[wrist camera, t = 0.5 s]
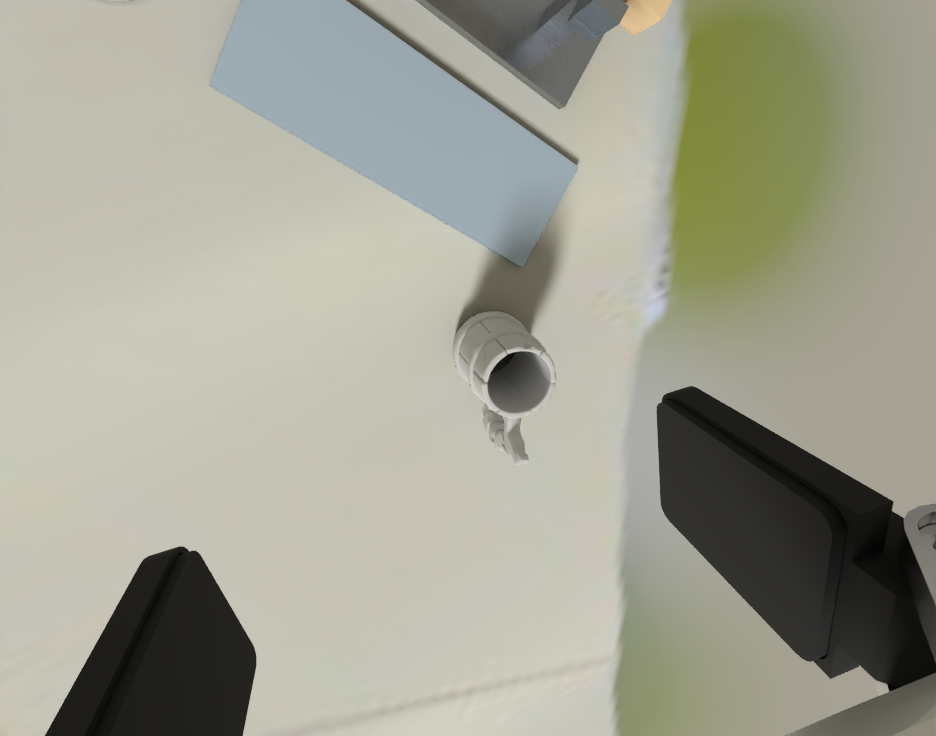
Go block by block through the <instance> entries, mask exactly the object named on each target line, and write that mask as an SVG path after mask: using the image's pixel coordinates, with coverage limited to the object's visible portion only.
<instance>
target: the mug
mask: <svg viewBox="0 0 936 736" xmlns="http://www.w3.org/2000/svg"><path fill="white" fill-rule="evenodd" d="M513 352H515V353H514V356H513V358H512V359H511V361H510V362H509V363H508V364H507V365H506V366H505V367H504V368H502V369H500V370H499V371H497V372H494V373H491V371H492V370H493V368H494V366H495V365H496V364H497V363H498V362H499V361H500V360H501V359H502V358H504V357H505V356H506V355H507V354H510V353H513ZM453 360H454V364H455V368H456V370H457V371H458V372H459V373H460V375H461V376H462V377H463V378H464V379H465V380H466V381H467V382H468V383H469V386H470V389H471V390H472V391H473V392H474V393H475V394H476V395H477V396H478V397H479V398H480V399H481V400H482V401H483V402H485V405H484V406H483V416H484V418H483V423H484V426H485V430H486V431H487V433H488V434H489V438H490V441H491V443H492V444H493V446H495V447H498V448H499V449H501V450H503V451H505V452H506V453H507V454H508V455H510V456H511V457H512V458H513V460H514V462H515V464H517V465H519V464H526V463H528V462H529V460H528V455H527V454H526V453H525V448H524V445H525V444H524V441H523V439H522V436H521V433H520V423H521V417H524V416H527V415H530V414H531V413H532V412H533V413H534V412H536V411H537V410H538V409H540V408H541V407H542V406H543V405H544V404H545V403H546V402H547V401H548V400H549V398H550V397H551V395H552V393H553V391H554V388H555V385H556V384H555V382H556V373H555V368H554V364H553V361H552V360H551V358H550V356H549V355H548V354H547V353H546V350H545V348H544V347H543V346H542V345H541V343H540V342H539V341H538V340H537V339H536V338H535V337H533V336H532V335H531V334H529V333H528V332H527V330H526V329H525V327H524V326H523V325H522V324H521V322H520V321H518V320H517V319H516V318H515V317H513V316H511V315H509V314H507V313H503V312H499V311H488V312H482V313H478V314H476V315H475V317H474V316H472V317H470V318H469V319H468V320H467V321H466V322H465V323H464V324H463V325H462V326H461V327H460V328H459V330H458V331H457V333H456V336H455V339H454V347H453ZM490 373H491V374H490ZM502 416H504V417H505V425H503V424H504V419H503V417H502Z"/></svg>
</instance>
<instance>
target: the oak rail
mask: <svg viewBox="0 0 936 736" xmlns="http://www.w3.org/2000/svg"><path fill="white" fill-rule="evenodd" d="M623 1H624V2H625V3H626V4H627V5H628V6H629V7H628V9H627V11H626V13H625V14H624V16H623V18H622V20H621V22H620V25H622V26H623V27H624V28H625V29H626V30H627V31H628V32H629V33H630V34H632V35H635V34H637V33H639V32H641V31H642V30H644V29H646V28H648V27H650V26H651V25H653V24H655V23H657V22H659V21H660V20H662V18H663V16H664V15H665V13H666V11H667V9H668V7H669V6H670V4H671V2H672V0H623Z"/></svg>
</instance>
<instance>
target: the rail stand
mask: <svg viewBox="0 0 936 736" xmlns="http://www.w3.org/2000/svg"><path fill="white" fill-rule="evenodd" d="M416 1H417V2H418V3H420V4H421V5H422V6H424V7H425V8H426V9H428V10H429V11H430V12H432V13H433V14H434V15H436V16H437V17H438V18H439V19H441V20H442V21H443V22H445V23H446V24H447V25H449V26H450V27H451V28H453V29H454V30H455V31H457V32H458V33H459V34H461V35H462V36H463V37H464V38H466V39H467V40H468V41H470V42H471V43H472V44H474V45H475V46H476V47H478V48H479V49H480V50H482V51H483V52H484V53H486V54H487V55H488V56H489V57H491V58H492V59H493V60H495V61H496V62H497V63H499V64H500V65H501V66H503V67H504V68H505V69H507V70H508V71H509V72H511V73H512V74H513V75H515V76H516V77H517V78H518V79H520V80H521V81H522V82H524V83H525V84H526V85H528V86H529V87H530V88H532V89H533V90H534V91H536V92H537V93H538V94H540V95H541V96H542V97H543V98H545V99H546V100H547V101H549V102H550V103H551V104H553V105H554V106H555V107H557V108H558V109H561V108H563V107H565V106H566V104H567V102H568V100H569V98H570V96H571V94H572V93H573V91H574V89H575V87H576V85H577V83H578V81H579V80H580V78H581V76H582V74H583V72H584V70H585V68H586V67H587V65H588V63H589V61H590V59H591V57H592V56H593V54H594V52H595V50H596V48H597V46H598V44H599V43H600V41H601V39H602V37H603V35H604V33H606V32H607V31H609V30H610V29H612V28H614V27H615V26H617V25H618V24H620V22H621V20H622V18H623V16H624V14H625V13H626V11H627V9H628V7H629V6H628V5H627V4H626V3H625V2H624V1H623V0H416Z"/></svg>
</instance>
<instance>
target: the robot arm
mask: <svg viewBox="0 0 936 736" xmlns="http://www.w3.org/2000/svg"><path fill="white" fill-rule="evenodd" d="M104 1H130V0H104ZM657 428H658V448H659V449H658V451H659V473H660V494H661V495H660V496H661V506H662V509H663V512H664V514H665V516H666V517H667V518H668V520H669V521H670V522H671V523H672V524H673V525H674V526H675V527H676V528H677V529H678V531H679V532H681V534H682V535H683V536H684V537H685V538H686V539H687V540H688V541H689V542H690V543H691V544H692V545H693V546H694V547H695V548H696V549H697V550H698V551H699V552H700V553H701V554H702V555H703V557H704V558H705V559H706V560H707V561H708V562H709V563H710V564H711V565H712V566H713V567H714V568H715V569H716V570H717V571H718V572H719V573H720V574H721V575H722V576H723V577H724V578H725V580H726V581H727V582H728V583H729V584H730V585H731V586H732V587H733V588H734V589H735V590H736V591H737V592H738V593H739V594H740V595H741V596H742V597H743V598H744V599H745V600H746V601H747V602H748V604H749V605H750V606H751V607H753V609H754V610H755V611H756V612H757V613H758V614H759V615H760V616H761V617H762V618H763V619H764V620H765V621H766V622H767V623H768V624H769V625H770V626H771V628H772V629H773V630H774V631H775V632H776V633H777V634H778V635H779V636H780V637H781V638H782V639H783V640H784V641H785V642H786V643H787V644H788V645H789V646H790V647H791V648H792V650H793V651H794V652H795V653H797V654H798V655H799V656H800V657H801V658H803V659H804V660H806V661H814V662H815V663H816V664H817V665H818V666H819V667H820V668H821V669H822V670H823V671H824V672H825V674H826V675H827V676H828V677H830V679H831V678H833V677H836V676H838V675H841V674H843V673H845V672H848V671H850V670H852V669H854V668H857V667H859V665H860V666H861V667H862V668H864V670H866V671H867V672H868V673H869V674H870V675H871V676H872V677H873V678H874V680H875V684H876V688H877V692H878V697H875V698H873V699H870V700H868V701H866V702H863V703H861V704H858V705H856V706H853V707H851V708H849V709H846V710H843V711H841V712H839V713H837V714H834V715H832V716H830V717H827V718H825V719H823V720H821V721H818V722H816V723H814V724H811V725H809V726H807V727H805V728H802V729H800V730H797V731H795V732H793V733H791V734H788V735H786V736H936V504H930V505H924V506H919V507H917V508H915V509H913V510H911V511H909V512H908V513H907V515H906V516H905V518H903V517H901V516H899V515H898V514H896V513H894V512H892V506H893V501H891V500H889V499H888V498H886V497H884V496H883V495H881V494H879V493H878V492H876V491H874V490H872V489H870V488H869V487H867V486H866V485H863V484H862V483H860V482H859V481H857V480H855V479H853V478H852V477H850V476H848V475H846V474H845V473H843V472H841V471H840V470H838V469H836V468H834V467H833V466H831V465H829V464H827V463H826V462H824V461H822V460H821V459H819V458H817V457H815V456H814V455H812V454H810V453H808V452H807V451H805V450H803V449H801V448H800V447H798V446H796V445H795V444H793V443H791V442H789V441H788V440H786V439H784V438H782V437H781V436H779V435H777V434H775V433H774V432H772V431H770V430H769V429H767V428H765V427H763V426H762V425H760V424H758V423H756V422H755V421H753V420H751V419H750V418H748V417H746V416H744V415H743V414H741V413H739V412H737V411H736V410H734V409H732V408H731V407H729V406H727V405H725V404H724V403H722V402H720V401H718V400H716V399H715V398H713V397H711V396H710V395H708V394H706V393H705V392H703V391H701V390H699V389H698V388H696V387H693V386H691V387H686V388H683V389H680V390H676V391H674V392H670V393H667V394H665V395H664V396H663V399H662V402H661V403H660V404H658V406H657ZM255 669H256V653H255V649H254V646H253V644H252V642H251V641H250V639H249V637H248V636H247V634H246V632H245V630H244V629H243V627H242V625H241V624H240V622H239V620H238V618H237V617H236V615H235V613H234V612H233V610H232V608H231V607H230V605H229V603H228V601H227V600H226V598H225V596H224V595H223V593H222V591H221V589H220V588H219V586H218V584H217V583H216V581H215V579H214V577H213V576H212V574H211V572H210V571H209V569H208V567H207V565H206V564H205V562H204V560H203V559H202V557H201V555H200V554H199V553H198V552H197V551H191V552H189V551H188V549H186V548H185V547H176V548H173V549H170V550H167V551H164V552H161V553H157V554H154V555H151V556H148V557H146V558H145V559H144V560H143V561H142V562H141V564H140V566H139V568H138V569H137V571H136V573H135V575H134V577H133V578H132V580H131V582H130V584H129V586H128V587H127V589H126V591H125V593H124V595H123V596H122V598H121V600H120V602H119V604H118V605H117V607H116V609H115V611H114V613H113V614H112V616H111V618H110V620H109V622H108V623H107V625H106V627H105V629H104V631H103V632H102V634H101V636H100V638H99V640H98V641H97V643H96V645H95V647H94V649H93V650H92V652H91V654H90V656H89V658H88V659H87V661H86V663H85V665H84V667H83V668H82V670H81V672H80V674H79V676H78V677H77V679H76V681H75V683H74V685H73V686H72V688H71V690H70V692H69V694H68V695H67V697H66V699H65V701H64V703H63V704H62V706H61V708H60V710H59V712H58V713H57V715H56V717H55V719H54V721H53V722H52V724H51V726H50V728H49V730H48V731H47V733H46V735H45V736H243V731H244V726H245V721H246V715H247V710H248V705H249V700H250V695H251V690H252V685H253V680H254V675H255Z"/></svg>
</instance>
